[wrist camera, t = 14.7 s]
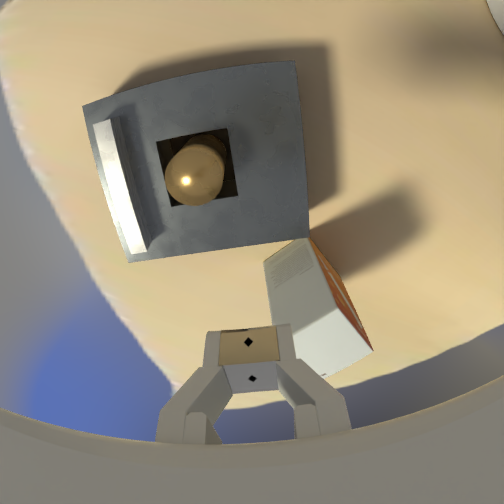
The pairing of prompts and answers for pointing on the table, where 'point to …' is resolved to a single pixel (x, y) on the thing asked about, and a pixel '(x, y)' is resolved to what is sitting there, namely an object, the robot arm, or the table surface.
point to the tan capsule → (197, 170)
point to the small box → (314, 308)
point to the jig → (242, 149)
